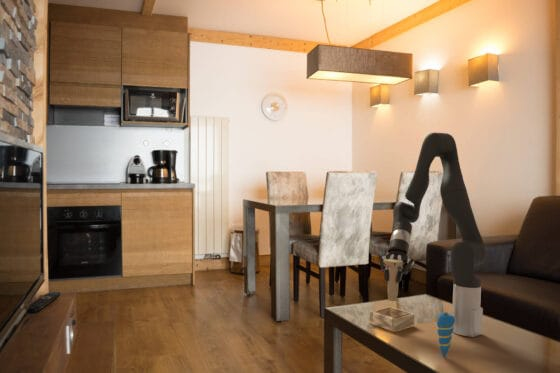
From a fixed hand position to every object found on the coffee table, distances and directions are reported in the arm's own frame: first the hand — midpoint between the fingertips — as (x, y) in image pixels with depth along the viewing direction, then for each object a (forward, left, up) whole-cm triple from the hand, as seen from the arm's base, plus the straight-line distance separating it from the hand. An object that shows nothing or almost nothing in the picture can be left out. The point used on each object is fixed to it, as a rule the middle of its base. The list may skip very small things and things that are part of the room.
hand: (392, 280), depth 171 cm
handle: (+1, -2, -8) cm, 8 cm away
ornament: (-28, +10, -17) cm, 35 cm away
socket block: (+1, -2, -17) cm, 17 cm away
